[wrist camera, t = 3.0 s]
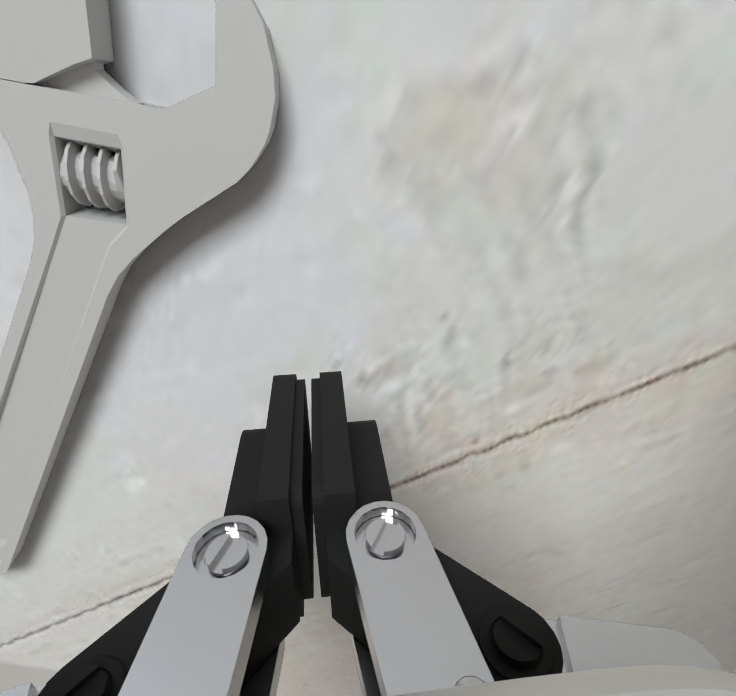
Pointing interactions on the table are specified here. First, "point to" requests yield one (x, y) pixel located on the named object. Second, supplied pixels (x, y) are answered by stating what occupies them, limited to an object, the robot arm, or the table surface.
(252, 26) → the adjustable wrench
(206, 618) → the robot arm
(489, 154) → the table surface
